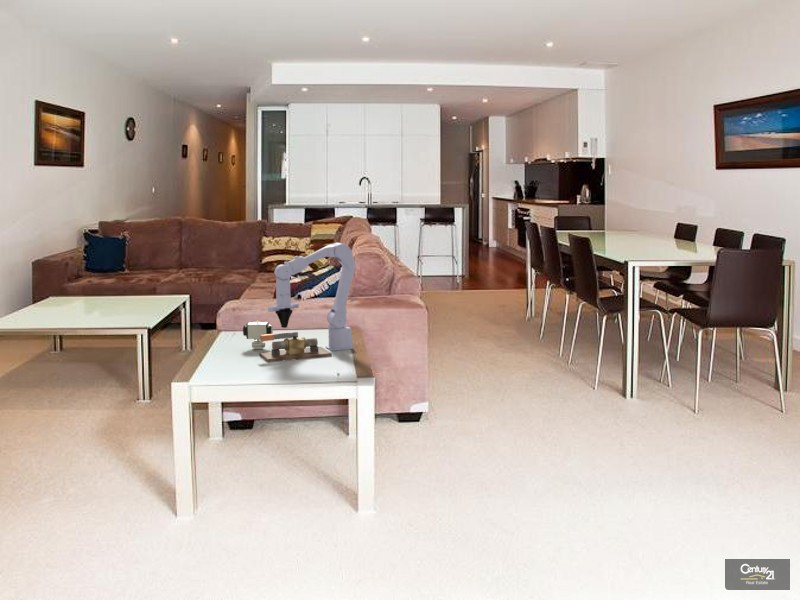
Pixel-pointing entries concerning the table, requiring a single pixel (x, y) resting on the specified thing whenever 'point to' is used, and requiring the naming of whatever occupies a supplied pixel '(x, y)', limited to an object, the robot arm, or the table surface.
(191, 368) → the table surface
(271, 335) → the valve lever
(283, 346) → the ball valve
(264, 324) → the pneumatic valve
